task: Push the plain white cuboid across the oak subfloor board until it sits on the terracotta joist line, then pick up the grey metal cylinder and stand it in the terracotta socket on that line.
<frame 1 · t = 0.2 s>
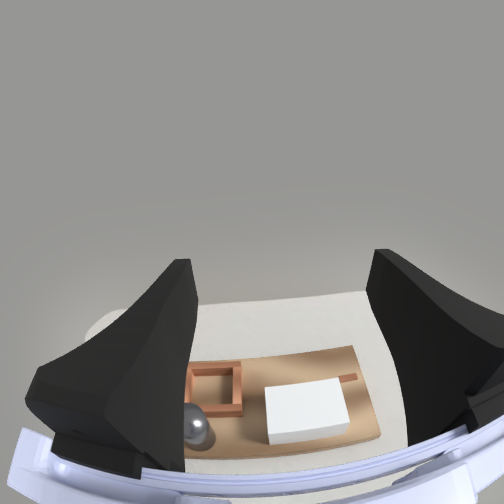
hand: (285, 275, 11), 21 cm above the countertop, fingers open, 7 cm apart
plain white cuboid: (304, 418, 24), point 1 cm above the countertop, touching subfloor board
subfloor board: (271, 405, 27), on the countertop
grey metal cylinder: (200, 438, 23), point 1 cm above the countertop, touching subfloor board
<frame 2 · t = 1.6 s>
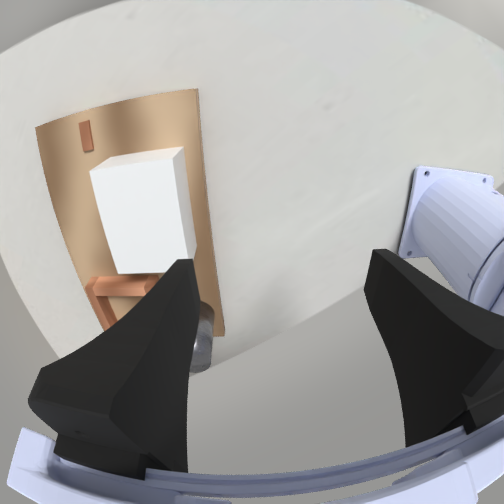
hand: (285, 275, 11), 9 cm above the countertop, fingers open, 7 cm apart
plain white cuboid: (153, 202, 18), point 1 cm above the countertop, touching subfloor board
subfloor board: (134, 236, 20), on the countertop
grey metal cylinder: (196, 313, 23), point 1 cm above the countertop, touching subfloor board
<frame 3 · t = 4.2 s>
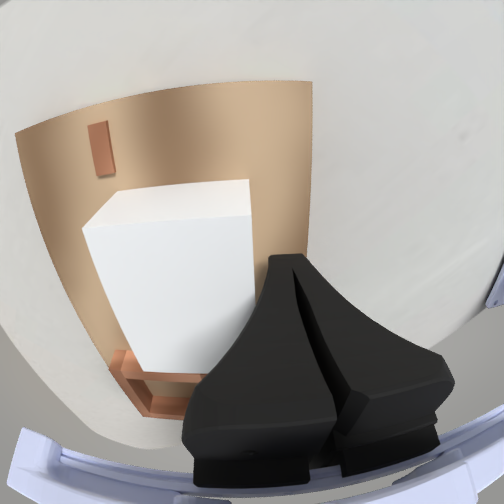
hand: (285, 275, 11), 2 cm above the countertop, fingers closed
plain white cuboid: (192, 264, 12), point 1 cm above the countertop, touching gripper
subfloor board: (180, 302, 14), on the countertop
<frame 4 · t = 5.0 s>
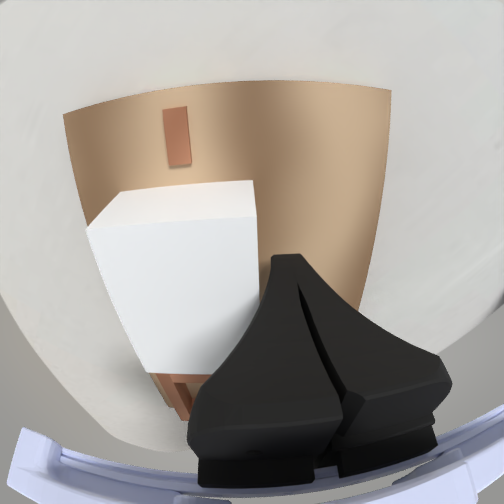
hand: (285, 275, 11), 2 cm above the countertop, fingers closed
plain white cuboid: (195, 265, 12), point 1 cm above the countertop, touching gripper, subfloor board
subfloor board: (237, 301, 14), on the countertop
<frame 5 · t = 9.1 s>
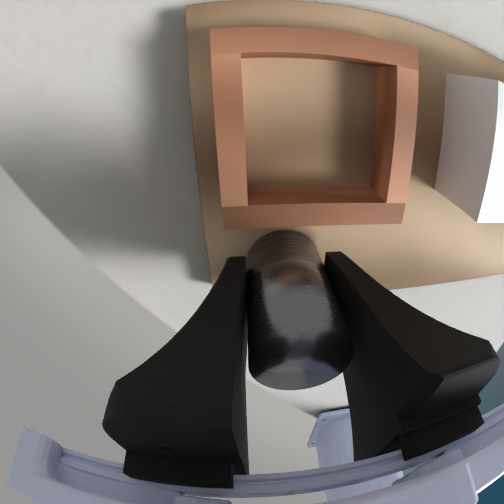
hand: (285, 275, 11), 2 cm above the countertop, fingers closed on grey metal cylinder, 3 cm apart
plain white cuboid: (493, 144, 9), point 1 cm above the countertop, touching subfloor board
subfloor board: (433, 165, 10), on the countertop
grey metal cylinder: (282, 262, 12), point 1 cm above the countertop, touching gripper, subfloor board
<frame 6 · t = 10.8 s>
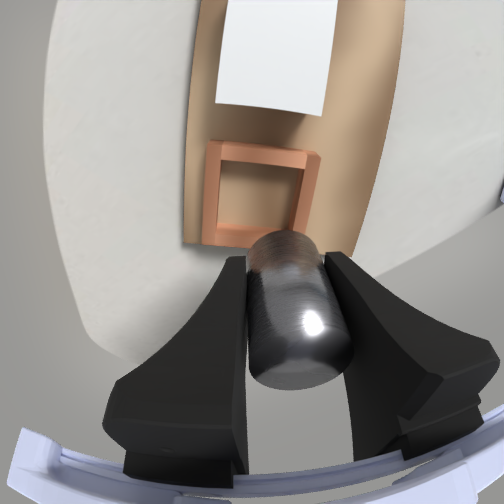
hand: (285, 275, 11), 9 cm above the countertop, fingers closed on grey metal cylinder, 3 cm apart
plain white cuboid: (272, 47, 13), point 1 cm above the countertop, touching subfloor board
subfloor board: (293, 99, 15), on the countertop
grey metal cylinder: (283, 262, 12), point 8 cm above the countertop, touching gripper
when the fingers open (4 cm above the countertop, at t = 12.5 s): grey metal cylinder drops 2 cm, resting on subfloor board.
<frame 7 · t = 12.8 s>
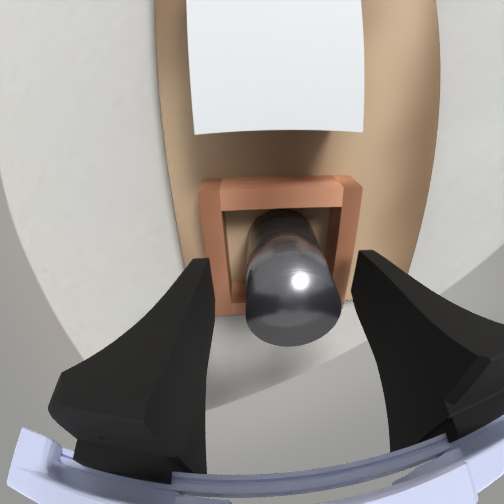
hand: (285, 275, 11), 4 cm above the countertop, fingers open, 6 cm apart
plain white cuboid: (268, 34, 8), point 1 cm above the countertop, touching subfloor board
subfloor board: (310, 105, 11), on the countertop
grey metal cylinder: (280, 239, 13), point 1 cm above the countertop, touching subfloor board
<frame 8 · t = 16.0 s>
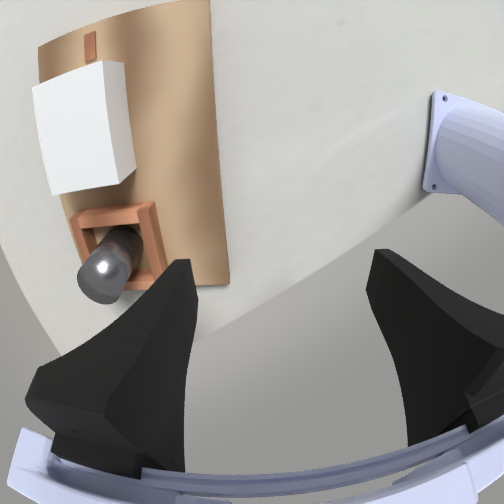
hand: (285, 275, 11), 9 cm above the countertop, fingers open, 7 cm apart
plain white cuboid: (94, 123, 15), point 1 cm above the countertop, touching subfloor board
subfloor board: (130, 158, 17), on the countertop
grey metal cylinder: (124, 242, 20), point 1 cm above the countertop, touching subfloor board
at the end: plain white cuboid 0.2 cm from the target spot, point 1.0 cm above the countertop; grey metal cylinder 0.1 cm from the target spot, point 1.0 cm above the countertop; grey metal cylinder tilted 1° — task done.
